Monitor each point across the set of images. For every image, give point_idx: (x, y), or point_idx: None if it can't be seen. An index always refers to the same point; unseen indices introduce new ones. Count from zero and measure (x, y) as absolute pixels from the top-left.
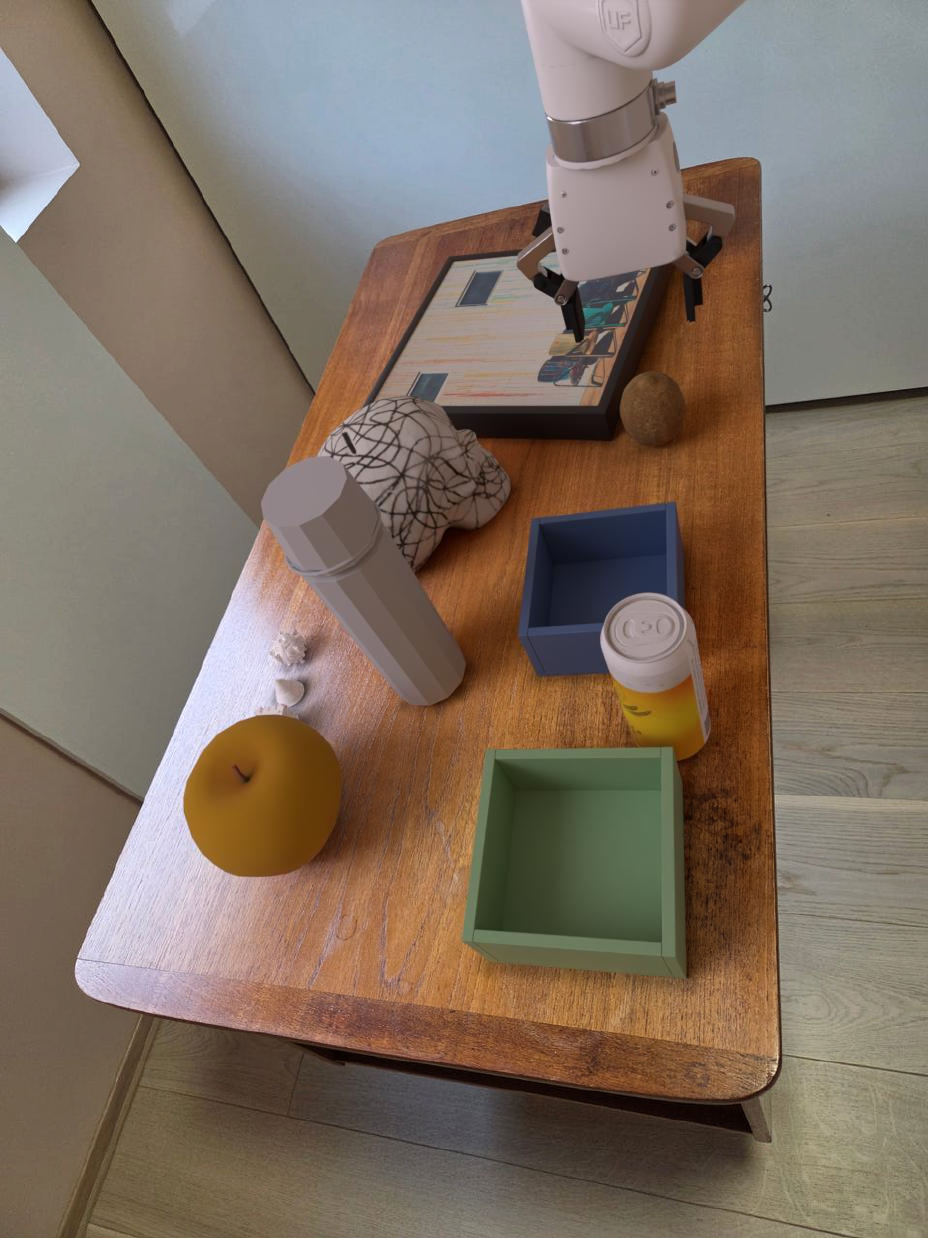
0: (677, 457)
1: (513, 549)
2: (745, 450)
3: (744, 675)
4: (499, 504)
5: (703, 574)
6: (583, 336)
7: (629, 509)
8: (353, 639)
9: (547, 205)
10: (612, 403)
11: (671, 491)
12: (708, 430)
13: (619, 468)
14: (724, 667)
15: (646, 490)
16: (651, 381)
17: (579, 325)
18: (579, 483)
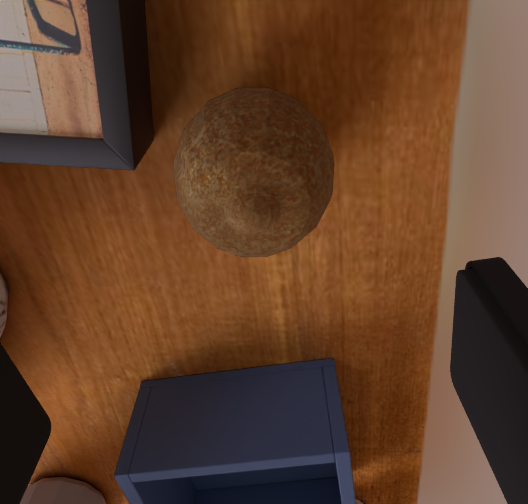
0: None
1: (74, 363)
2: (434, 173)
3: (406, 473)
4: (2, 316)
5: (362, 386)
6: (42, 421)
7: (275, 462)
8: None
9: None
10: (134, 105)
11: (303, 263)
12: (363, 114)
13: None
14: (386, 469)
15: (259, 261)
16: (266, 225)
17: (20, 500)
18: (128, 246)
